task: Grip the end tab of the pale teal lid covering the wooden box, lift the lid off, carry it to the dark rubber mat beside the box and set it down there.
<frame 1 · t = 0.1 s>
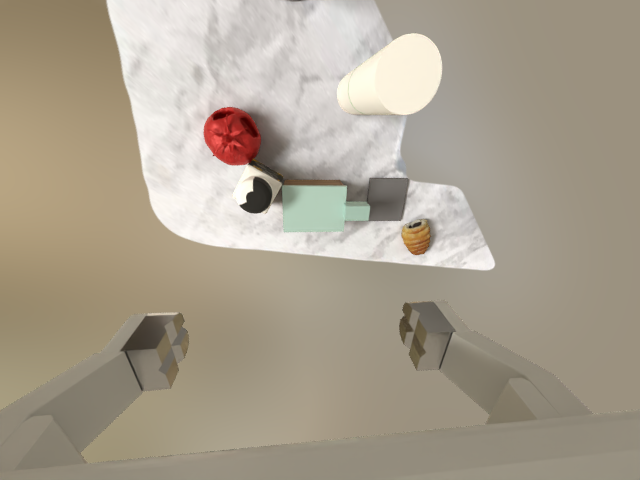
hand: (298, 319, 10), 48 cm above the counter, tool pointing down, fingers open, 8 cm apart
cylindrical container: (355, 93, 49), on the counter
pastry: (414, 233, 64), on the counter
medicine bottle: (261, 181, 54), on the counter
mat: (385, 199, 59), on the counter
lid: (314, 208, 52), point 6 cm above the counter, touching wooden box
wooden box: (312, 199, 57), on the counter
pomegranate: (237, 135, 50), on the counter
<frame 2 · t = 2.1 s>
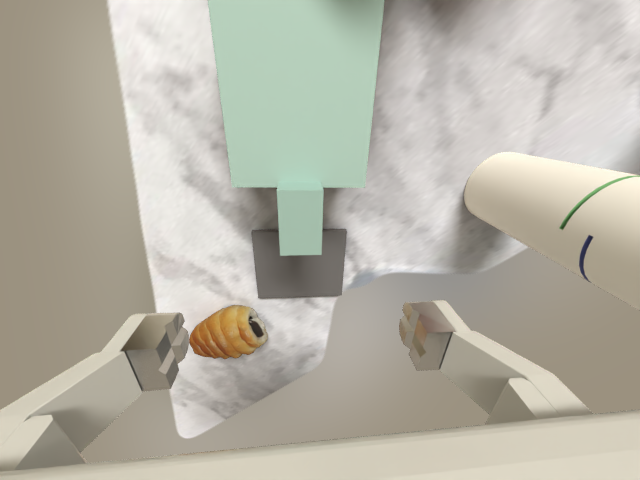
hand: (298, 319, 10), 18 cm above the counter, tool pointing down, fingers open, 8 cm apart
cylindrical container: (495, 186, 27), on the counter
pastry: (234, 324, 33), on the counter
mat: (300, 263, 29), on the counter
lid: (298, 87, 16), point 6 cm above the counter, touching wooden box
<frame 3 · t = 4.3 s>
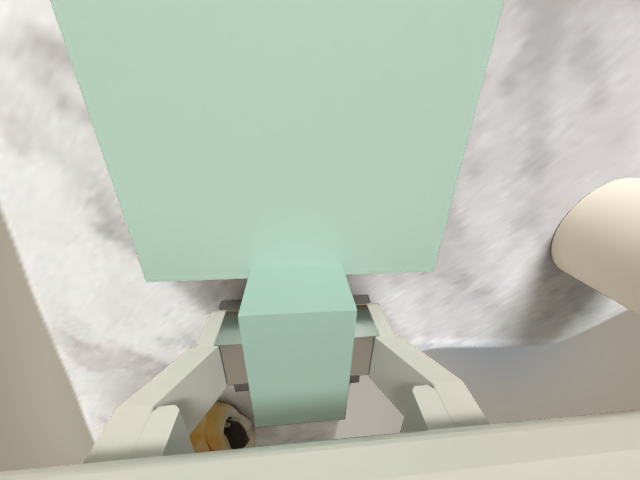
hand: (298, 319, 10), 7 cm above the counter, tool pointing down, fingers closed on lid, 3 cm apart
cylindrical container: (600, 228, 18), on the counter
pastry: (207, 421, 23), on the counter
mat: (297, 343, 19), on the counter
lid: (292, 52, 6), point 6 cm above the counter, touching gripper, wooden box
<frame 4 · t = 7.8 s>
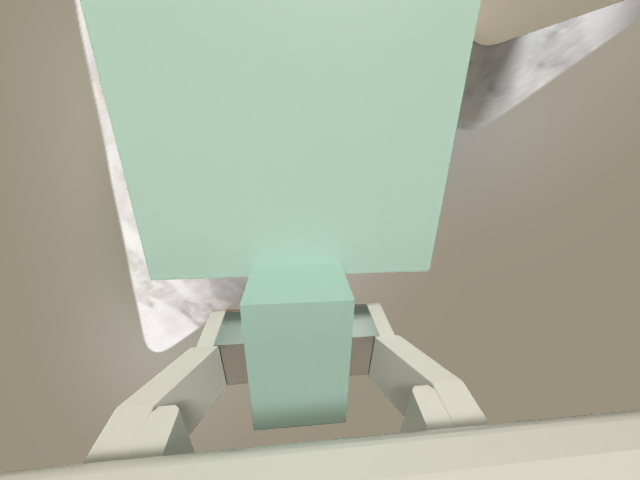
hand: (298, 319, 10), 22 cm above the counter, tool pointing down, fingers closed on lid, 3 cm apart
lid: (293, 68, 7), point 20 cm above the counter, tilted 5°, touching gripper
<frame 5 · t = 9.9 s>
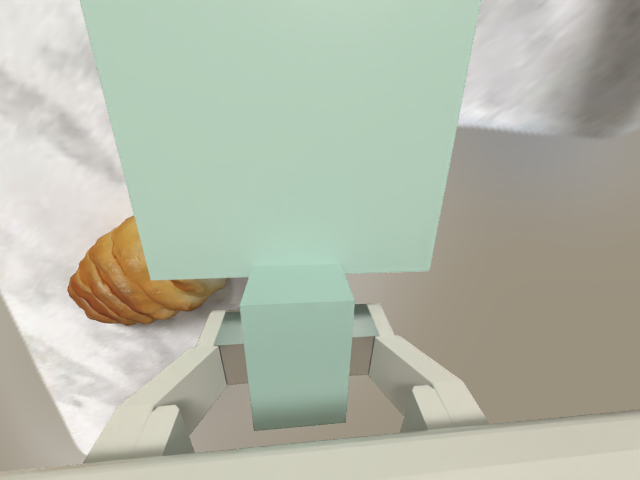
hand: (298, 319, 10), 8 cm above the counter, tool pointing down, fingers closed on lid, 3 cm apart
pastry: (164, 262, 18), on the counter
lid: (293, 68, 7), point 7 cm above the counter, tilted 6°, touching gripper
when the fingers open (4 cm above the counter, at t = 11.6 s): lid drops 2 cm, resting on mat.
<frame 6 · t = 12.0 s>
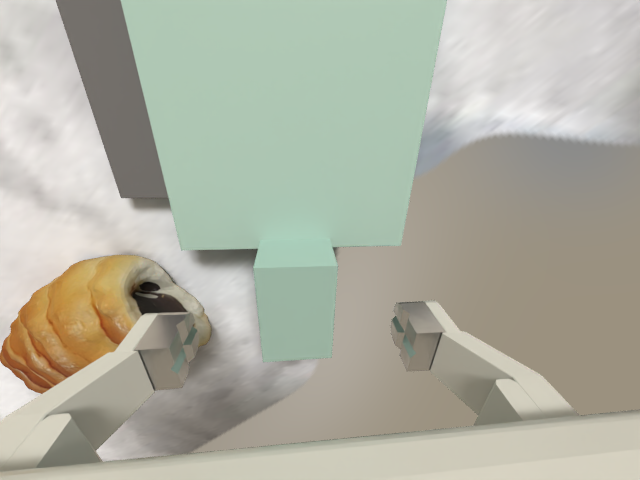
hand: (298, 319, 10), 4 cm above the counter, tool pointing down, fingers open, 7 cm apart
pastry: (131, 310, 14), on the counter
mat: (238, 80, 9), on the counter
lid: (292, 82, 9), point 1 cm above the counter, touching mat
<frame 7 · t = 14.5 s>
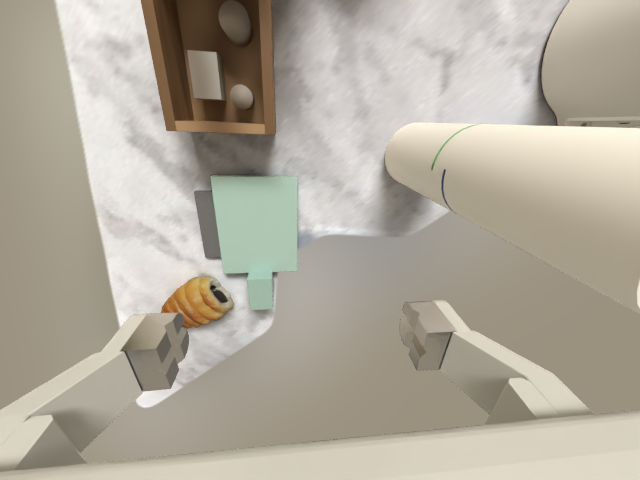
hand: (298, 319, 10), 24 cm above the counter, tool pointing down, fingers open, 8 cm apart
cylindrical container: (412, 154, 31), on the counter
pastry: (202, 296, 37), on the counter
mat: (242, 224, 32), on the counter
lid: (258, 226, 32), point 1 cm above the counter, touching mat
wooden box: (227, 63, 25), on the counter
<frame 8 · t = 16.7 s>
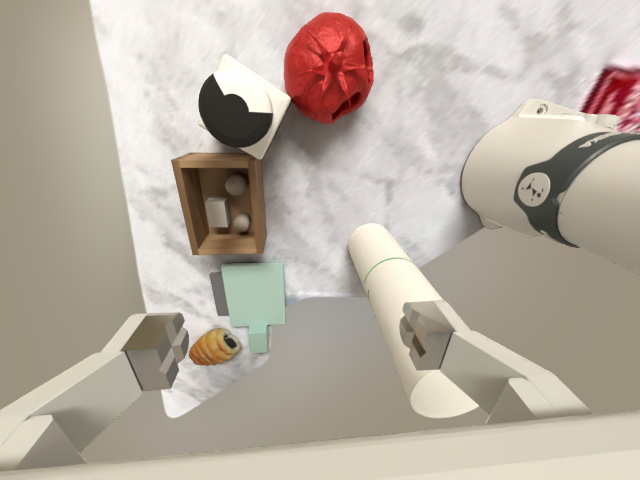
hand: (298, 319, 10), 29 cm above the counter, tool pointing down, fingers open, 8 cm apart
cylindrical container: (368, 242, 42), on the counter
pastry: (218, 341, 49), on the counter
medicine bottle: (253, 111, 32), on the counter
mat: (244, 292, 44), on the counter
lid: (256, 294, 44), point 1 cm above the counter, touching mat
wooden box: (231, 197, 36), on the counter
pomegranate: (325, 77, 31), on the counter
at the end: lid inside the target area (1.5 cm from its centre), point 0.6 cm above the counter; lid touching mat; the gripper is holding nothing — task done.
